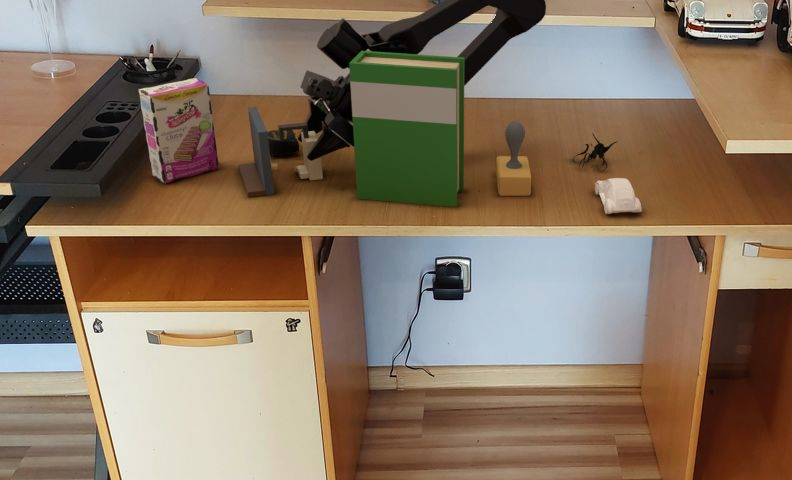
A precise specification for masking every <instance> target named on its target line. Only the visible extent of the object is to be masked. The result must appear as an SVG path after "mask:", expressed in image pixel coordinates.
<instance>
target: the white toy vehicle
mask: <svg viewBox="0 0 792 480" xmlns="http://www.w3.org/2000/svg"><path fill="white" fill-rule="evenodd" d="M594 192H595V195H596V196H599V197H600V200H601V202H602V205H603V207H604V209H603V210H604V213H605V215H611V214H619V213H634V214H637V213H638V214H639V213H642V204H641V201H640V199H639V198H638V197H636V193H635V191H634V188H633V186H632V184H631V181H630V180H629V179H628V178H626V177H625V178H624V177H613V178H607V179H605V180H597V181H595V185H594Z"/></svg>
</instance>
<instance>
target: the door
mask: <svg viewBox="0 0 792 480" xmlns="http://www.w3.org/2000/svg"><path fill="white" fill-rule="evenodd" d="M247 111H248V119H249V120H248V121H249V128H250V136H251V144H252V151H253V160H254V161H253V162H250V163H242V164H238V165H237V166H238V171H239V174H240V177H241V180H242V183H243V186H244V189H245V192H246V195H247V197H248V198H253V197H261V196H269V195H270V196H271V195H275V189H274V188H275V187H274V179H273V173H275V172H278V171H279V165H278V163H276V162H274V163H272V161H271V154H270V152H269V143H268V134H267V132H268V130H267V127H266V125H265V124H264V121H263V119H262V116H261V114H260V112H259V110H258V108H257V106H253V107H247Z"/></svg>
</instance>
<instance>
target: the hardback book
mask: <svg viewBox="0 0 792 480" xmlns="http://www.w3.org/2000/svg"><path fill="white" fill-rule="evenodd" d="M349 68H350V69H349ZM349 68H348V69H349V72H350V84H351V100H352V117H353V133H354V147H353V148H354V164H355V165H354V166H355V179H356V180H355V182H356V196H357V199H358V200H370V201H379V202H391V203H393V202H394V203H404V204H405V203H406V204H416V205H427V206H428V205H429V206H440V207H452V208H457V206H458V193H463V192H464V190H465V86H464V58H463V57H458V56H446V55H433V54H432V55H431V54H403V53H388V52H373V51H370V50H366V51H361V52H360V53H359V54H358V55H357V56H356V57H355V58H354V59H353V60H352V61H351V62H350V63H349Z"/></svg>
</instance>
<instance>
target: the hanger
mask: <svg viewBox="0 0 792 480" xmlns="http://www.w3.org/2000/svg"><path fill="white" fill-rule="evenodd" d="M277 128H278V130H279V138H280V140H281V141H284V133H283V131H287V130H293V131H295V130H297V131H298V130H303V132H301V131H300V132H301V134H302V143H301V145H302V153H303V163H304V164H302V165H296V166H295V167H296V172H297V174H298V177H299V178H300V180H303V179H304V180H305V179H309V181H317V180H323V179H324V177H323V175H324V174H323V164H322V157H320V158H317V159H315V160H313V161H310V160H309V159H308V158H307V155H308V154H309V152H310V150H311V149H312V147H313V146H314V144H315V143H316V141H317V140H318V138H319V137H318V134H316V133H315V131H310V132H308V125H307V123H306V122H305V121H304V122H296V123H286V124H278V125H277Z"/></svg>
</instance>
